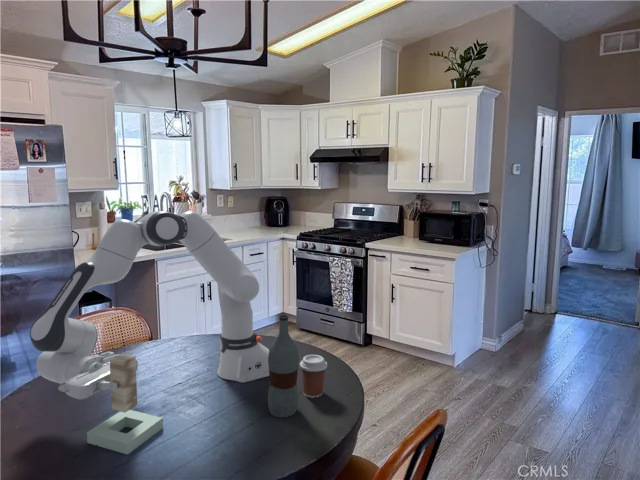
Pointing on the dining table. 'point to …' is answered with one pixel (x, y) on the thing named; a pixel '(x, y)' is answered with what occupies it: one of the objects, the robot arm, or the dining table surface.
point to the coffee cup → (313, 375)
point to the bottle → (283, 373)
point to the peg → (123, 382)
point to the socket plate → (123, 442)
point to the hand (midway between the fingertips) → (126, 381)
